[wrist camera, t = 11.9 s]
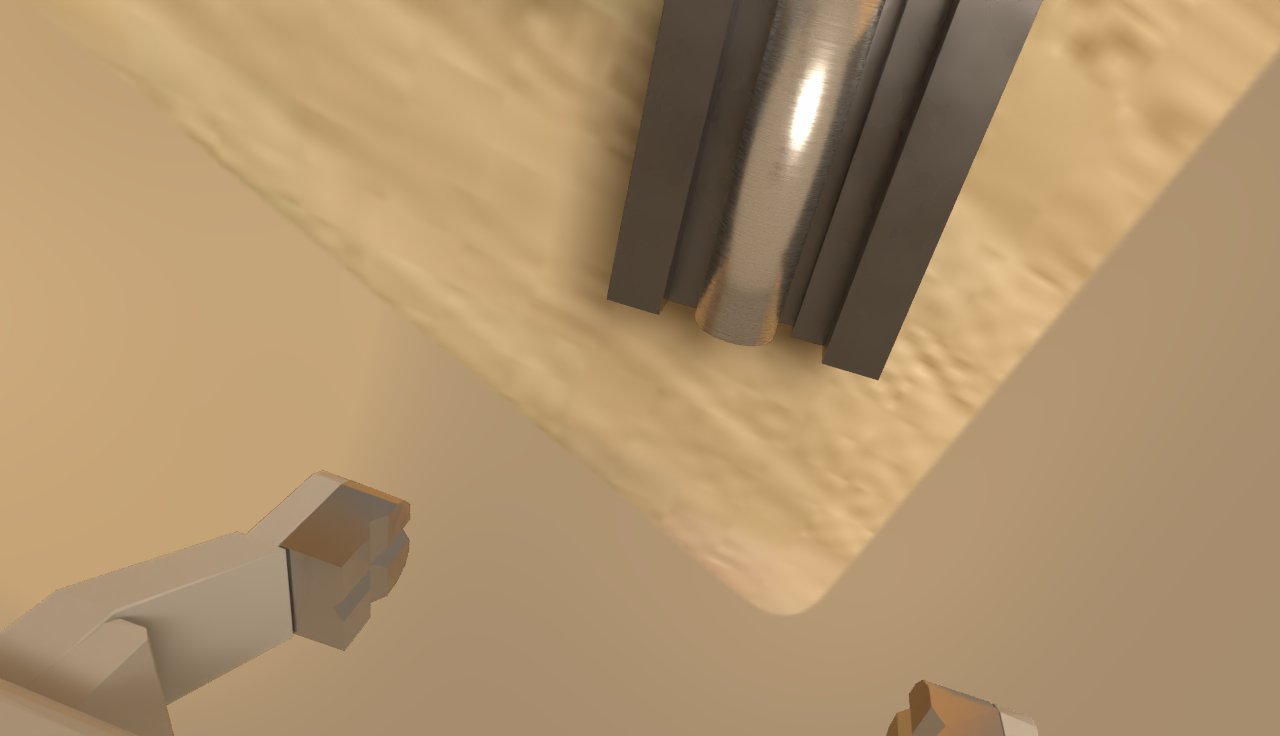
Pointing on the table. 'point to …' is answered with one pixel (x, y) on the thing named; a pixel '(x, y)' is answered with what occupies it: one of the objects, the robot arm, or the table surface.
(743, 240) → the axle
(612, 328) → the table surface
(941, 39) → the v block
